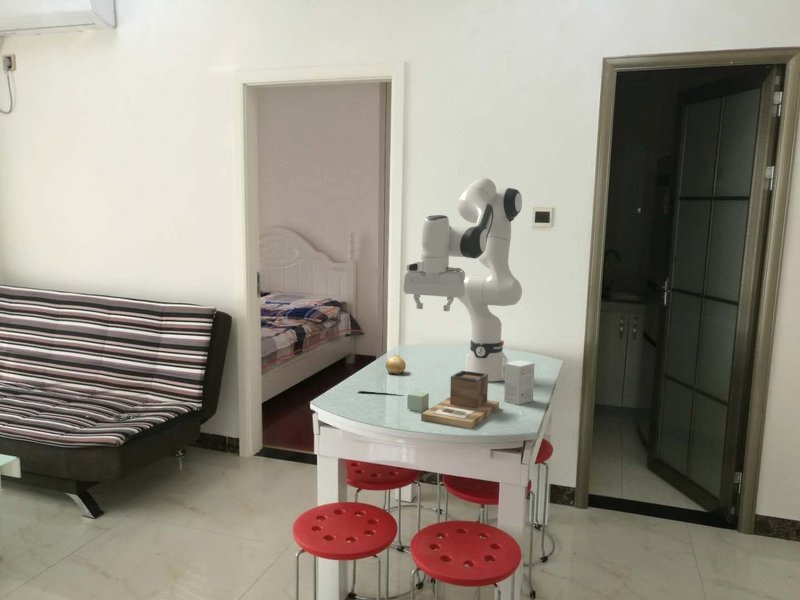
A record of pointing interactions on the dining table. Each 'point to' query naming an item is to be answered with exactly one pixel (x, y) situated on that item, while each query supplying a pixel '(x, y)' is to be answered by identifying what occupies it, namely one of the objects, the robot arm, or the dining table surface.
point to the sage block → (418, 401)
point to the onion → (395, 364)
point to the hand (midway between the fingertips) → (432, 310)
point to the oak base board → (460, 421)
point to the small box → (519, 382)
